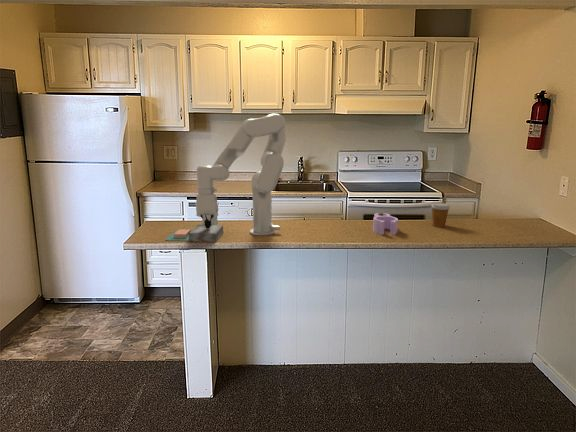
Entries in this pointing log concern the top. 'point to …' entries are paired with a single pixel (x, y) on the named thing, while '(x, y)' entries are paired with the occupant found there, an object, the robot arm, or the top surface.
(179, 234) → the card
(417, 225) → the top surface
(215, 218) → the skincare box
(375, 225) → the clip
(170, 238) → the mat
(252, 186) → the robot arm
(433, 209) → the disposable coffee cup
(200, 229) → the grey flat block
